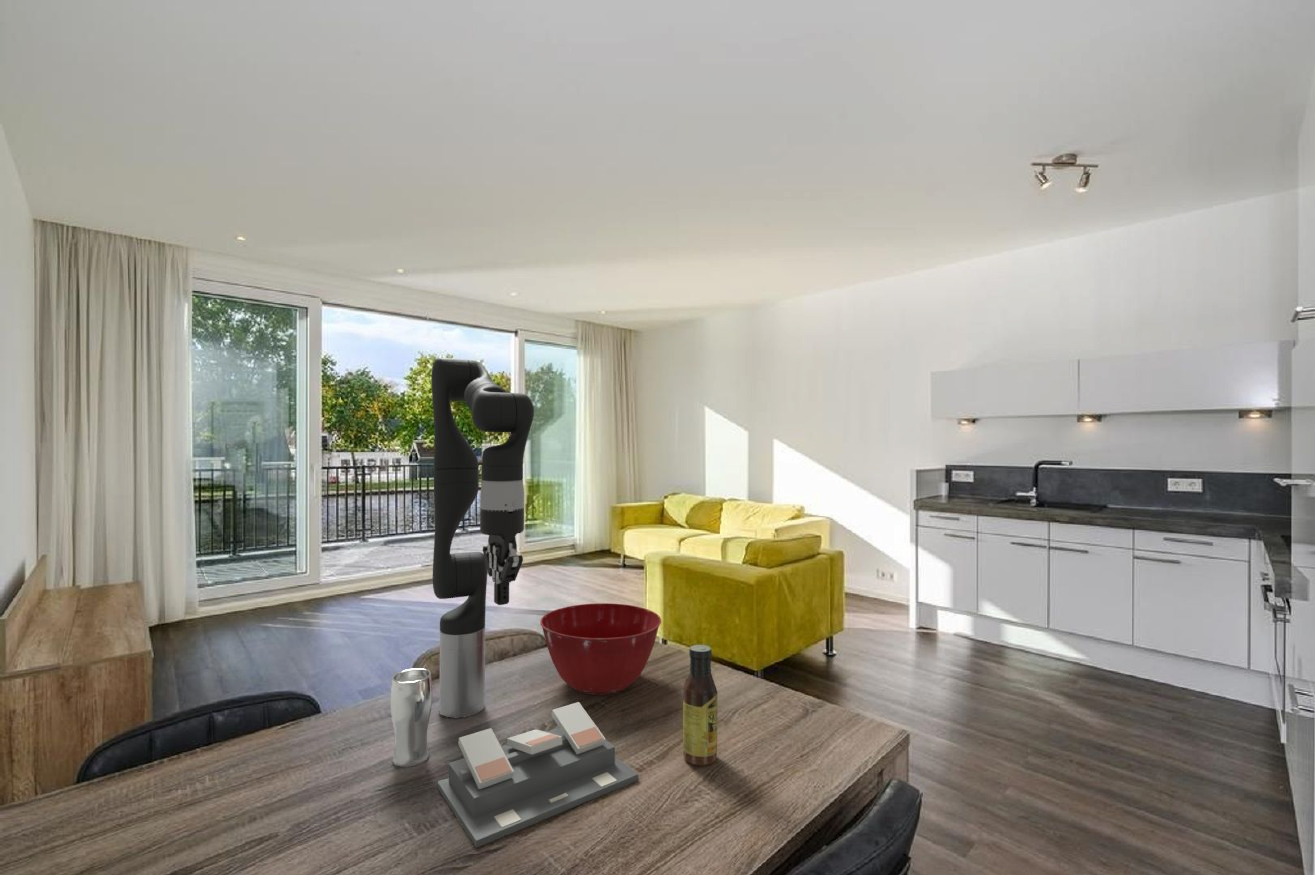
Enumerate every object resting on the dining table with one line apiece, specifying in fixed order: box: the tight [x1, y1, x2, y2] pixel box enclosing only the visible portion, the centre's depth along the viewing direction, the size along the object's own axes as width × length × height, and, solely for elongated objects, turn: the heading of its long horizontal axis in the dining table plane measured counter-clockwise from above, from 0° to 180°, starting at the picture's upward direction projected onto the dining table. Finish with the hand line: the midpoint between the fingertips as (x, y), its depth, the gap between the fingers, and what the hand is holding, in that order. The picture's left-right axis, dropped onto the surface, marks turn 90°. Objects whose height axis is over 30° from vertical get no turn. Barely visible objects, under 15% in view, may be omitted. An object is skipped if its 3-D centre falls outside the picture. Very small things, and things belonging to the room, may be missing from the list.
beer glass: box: [390, 667, 433, 768], centre depth 107 cm, size 7×7×15 cm
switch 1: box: [458, 728, 514, 789], centre depth 96 cm, size 10×6×1 cm, turn 37°
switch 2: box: [506, 729, 562, 755], centre depth 101 cm, size 10×6×1 cm, turn 37°
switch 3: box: [551, 701, 606, 754], centre depth 106 cm, size 10×6×1 cm, turn 37°
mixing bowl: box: [539, 602, 662, 696], centre depth 141 cm, size 28×28×16 cm
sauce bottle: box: [682, 644, 718, 767], centre depth 108 cm, size 7×6×20 cm
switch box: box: [436, 726, 639, 848], centre depth 99 cm, size 18×28×5 cm, turn 127°
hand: (501, 603), depth 105 cm, fingers closed
